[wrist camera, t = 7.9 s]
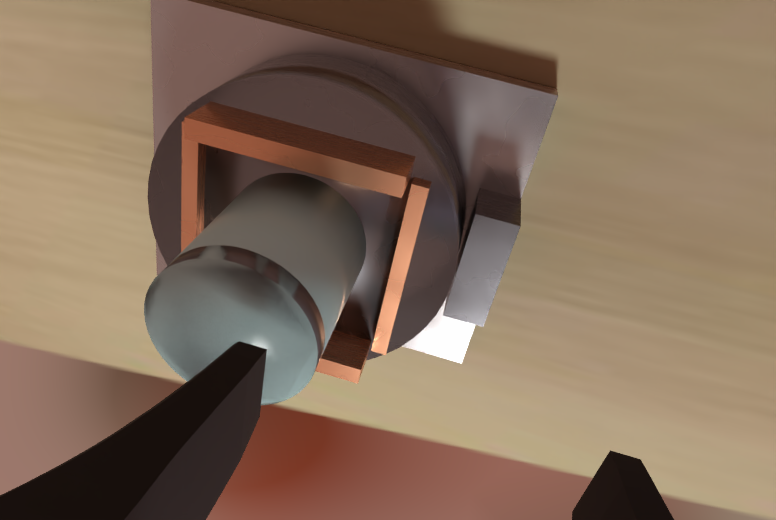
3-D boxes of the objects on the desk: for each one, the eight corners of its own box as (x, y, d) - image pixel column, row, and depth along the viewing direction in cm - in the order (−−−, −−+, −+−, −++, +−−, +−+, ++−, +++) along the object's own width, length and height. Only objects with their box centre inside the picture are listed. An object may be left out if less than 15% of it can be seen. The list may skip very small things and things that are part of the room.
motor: (556, 88, 18) (567, 147, 14) (463, 350, 24) (449, 450, 20) (163, -13, 19) (52, 12, 14) (166, 265, 25) (88, 342, 20)
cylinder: (378, 195, 17) (330, 289, 13) (353, 312, 19) (305, 425, 15) (235, 155, 17) (141, 235, 13) (227, 276, 20) (146, 376, 15)
